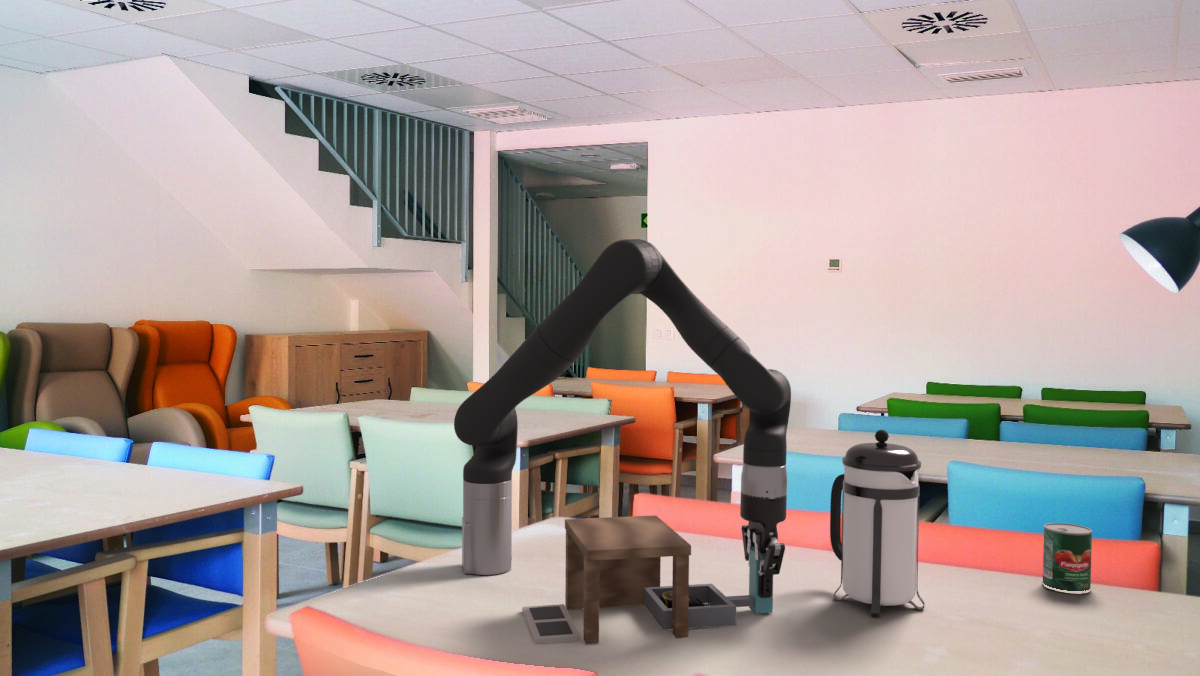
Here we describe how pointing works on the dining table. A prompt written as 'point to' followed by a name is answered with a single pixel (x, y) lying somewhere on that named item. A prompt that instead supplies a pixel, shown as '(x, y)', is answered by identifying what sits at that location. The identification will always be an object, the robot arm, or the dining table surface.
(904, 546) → the coffee press
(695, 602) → the tape measure
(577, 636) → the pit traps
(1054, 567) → the canned tomato
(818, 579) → the dining table surface
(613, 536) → the small wooden table
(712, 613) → the slider
